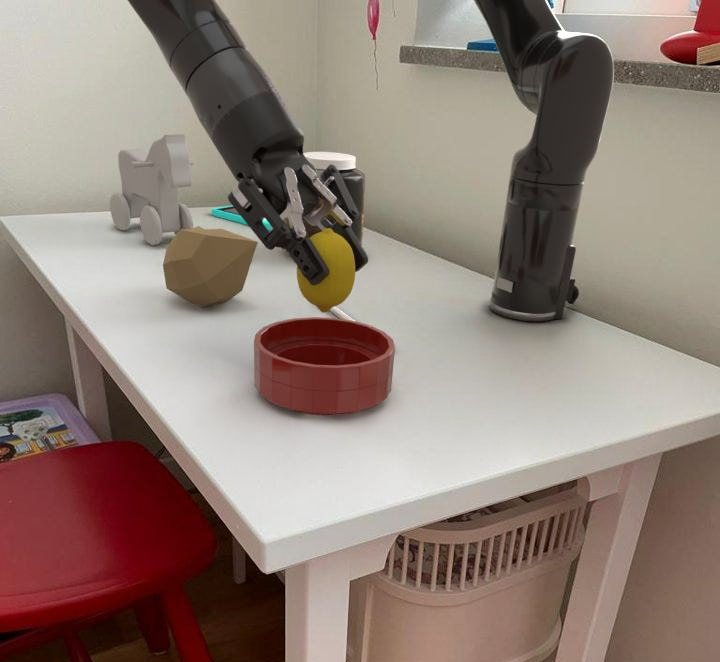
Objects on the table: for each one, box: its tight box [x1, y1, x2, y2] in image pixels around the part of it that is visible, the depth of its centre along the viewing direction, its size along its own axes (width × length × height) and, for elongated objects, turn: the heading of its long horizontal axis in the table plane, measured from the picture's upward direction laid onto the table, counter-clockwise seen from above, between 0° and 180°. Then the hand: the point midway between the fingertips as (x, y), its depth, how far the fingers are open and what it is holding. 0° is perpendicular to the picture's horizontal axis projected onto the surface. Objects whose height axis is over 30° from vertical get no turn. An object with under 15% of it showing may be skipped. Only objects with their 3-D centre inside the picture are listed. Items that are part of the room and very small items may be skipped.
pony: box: [109, 133, 195, 247], centre depth 124 cm, size 20×10×17 cm, turn 40°
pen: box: [328, 306, 356, 321], centre depth 97 cm, size 1×19×1 cm, turn 27°
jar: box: [288, 151, 366, 257], centre depth 121 cm, size 12×12×15 cm
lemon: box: [296, 228, 356, 314], centre depth 73 cm, size 6×6×8 cm
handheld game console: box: [211, 204, 272, 232], centre depth 144 cm, size 10×16×1 cm, turn 51°
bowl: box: [253, 316, 396, 416], centre depth 78 cm, size 14×14×6 cm
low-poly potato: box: [162, 225, 259, 308], centre depth 100 cm, size 15×11×12 cm
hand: (341, 273), depth 72 cm, fingers closed on lemon, 5 cm apart
